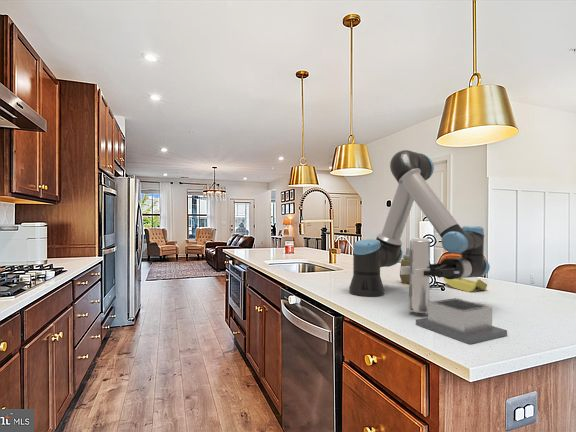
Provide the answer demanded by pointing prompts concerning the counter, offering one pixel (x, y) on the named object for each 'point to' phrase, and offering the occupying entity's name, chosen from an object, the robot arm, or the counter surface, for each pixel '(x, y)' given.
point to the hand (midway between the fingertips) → (408, 272)
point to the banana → (466, 284)
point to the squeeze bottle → (405, 263)
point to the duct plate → (461, 320)
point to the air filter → (420, 285)
